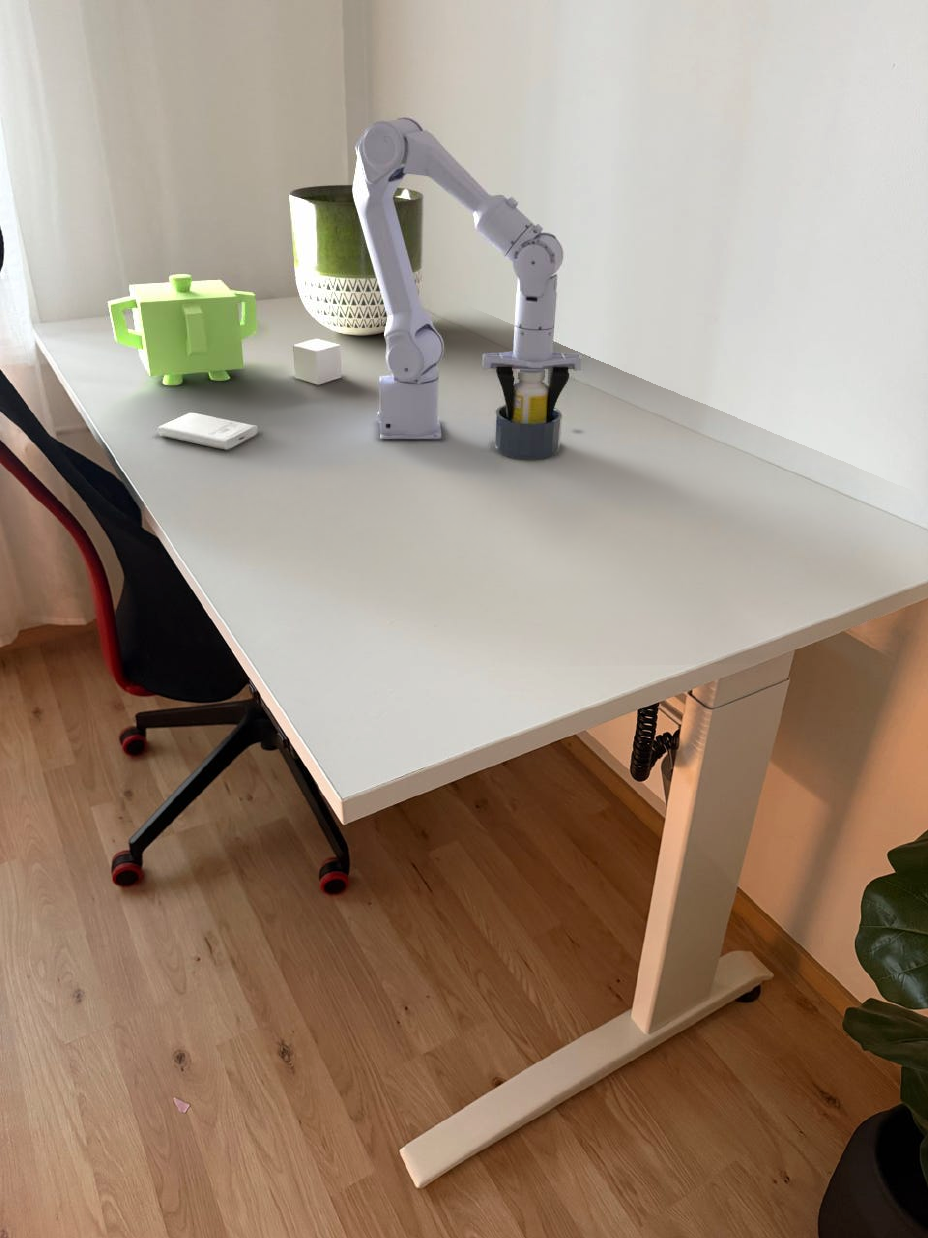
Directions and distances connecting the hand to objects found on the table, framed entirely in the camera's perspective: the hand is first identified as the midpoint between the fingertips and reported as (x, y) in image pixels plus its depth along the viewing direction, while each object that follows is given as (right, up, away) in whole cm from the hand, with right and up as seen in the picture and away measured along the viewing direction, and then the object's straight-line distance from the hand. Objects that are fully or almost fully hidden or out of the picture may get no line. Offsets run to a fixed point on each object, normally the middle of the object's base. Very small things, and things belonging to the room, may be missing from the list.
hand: (528, 416), depth 143 cm
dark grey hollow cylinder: (0, -4, +3) cm, 5 cm away
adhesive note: (-36, +13, +30) cm, 49 cm away
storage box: (-60, +14, +30) cm, 68 cm away
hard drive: (-49, -2, +3) cm, 50 cm away
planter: (-32, +31, +59) cm, 73 cm away
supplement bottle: (0, -2, +1) cm, 3 cm away
